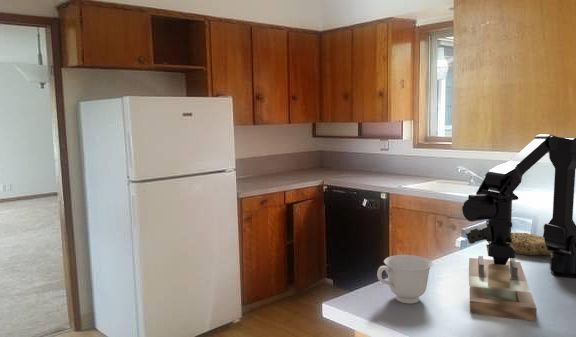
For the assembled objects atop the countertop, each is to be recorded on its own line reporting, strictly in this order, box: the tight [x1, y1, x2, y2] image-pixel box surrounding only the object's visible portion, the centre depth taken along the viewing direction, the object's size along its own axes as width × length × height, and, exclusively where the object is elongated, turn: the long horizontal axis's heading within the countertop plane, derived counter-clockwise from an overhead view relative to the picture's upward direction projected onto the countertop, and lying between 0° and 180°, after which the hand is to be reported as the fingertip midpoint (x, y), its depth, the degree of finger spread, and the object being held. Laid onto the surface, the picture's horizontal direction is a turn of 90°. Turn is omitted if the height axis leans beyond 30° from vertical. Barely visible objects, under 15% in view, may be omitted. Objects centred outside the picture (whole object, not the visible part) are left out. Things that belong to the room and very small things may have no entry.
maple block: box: [487, 264, 510, 289], centre depth 122 cm, size 5×5×4 cm
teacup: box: [376, 254, 434, 305], centre depth 120 cm, size 12×15×10 cm
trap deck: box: [468, 255, 537, 322], centre depth 125 cm, size 14×35×6 cm, turn 159°
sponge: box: [487, 232, 552, 256], centre depth 158 cm, size 13×8×20 cm
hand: (498, 273), depth 127 cm, fingers closed
